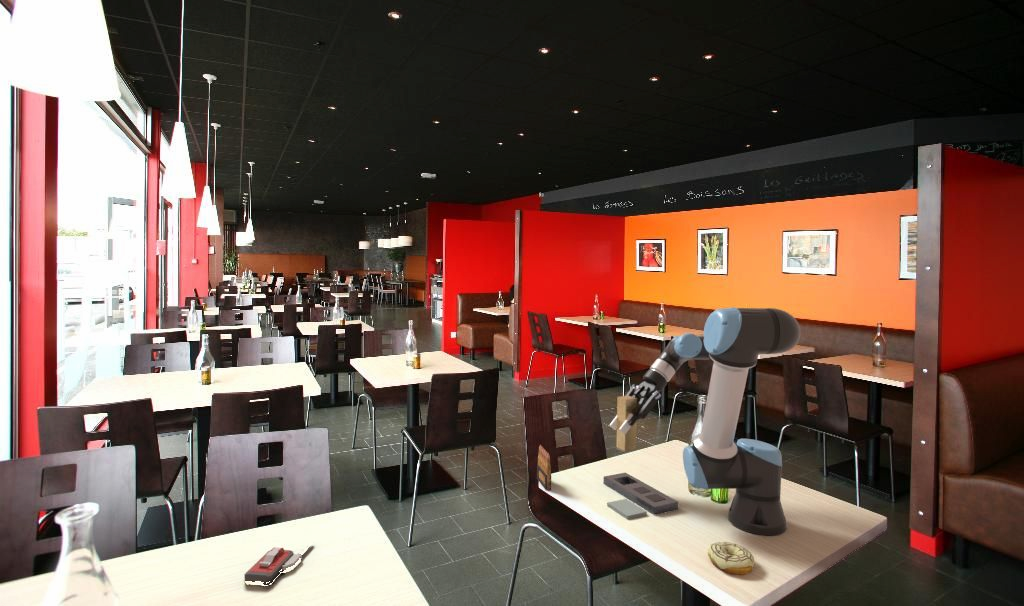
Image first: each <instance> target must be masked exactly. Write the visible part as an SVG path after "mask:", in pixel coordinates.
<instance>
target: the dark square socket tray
mask: <svg viewBox="0 0 1024 606" xmlns="http://www.w3.org/2000/svg"><path fill="white" fill-rule="evenodd" d="M603 485H604V486H606V487H608V488H610V489H611V490H613V491H614V492H616V493H618V494H620V496H623V497H624V498H625V499H627V500H629V501H630V502H632V503H634V504H635V503H636V504H635V505H637V506H638V507H640V508H642V509H643V508H644V509H643V510H645V511H646V512H647V513H650V514H652V515H653V516H656V515H661V513H662V514H666V513H670V511H671V512H675V511H678V510H679V500H676V499H674V498H673V497H671V496H669V495H667V494H665V493H663V492H661V491H660V490H658V489H656V488H654V487H652V486H651V485H648V483H645V482H643V481H641V480H640V479H637V477H635V476H633V475H630V474H629V473H627V472H622V473H617V474H615V473H614V474H610V475H603ZM674 510H675V511H674ZM665 512H666V513H665Z"/></svg>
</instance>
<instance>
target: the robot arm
mask: <svg viewBox="0 0 1024 606" xmlns="http://www.w3.org/2000/svg"><path fill="white" fill-rule="evenodd" d="M703 328H704V329H703V333H702V334H703V335H702V336H699V335H697V334H695V333H691V332H688V333H683V334H682V335H680V336H678V335H677V336H676V335H675V336H674V337H673V338H672V339H671V340H670V341H669V342H668V344H667V346H666V347H665V348H664V350H663V351H662V352H661V354H660V355H659V356H658V357H657V358H656V360H655V361H654V362H653V363H652V364H651V366H650V367H649V369H648V370H647V371H646V373H644V375H643V376H642V382H641V383H639V385H635V383H634V384H632V385H631V387H630V389H629V391H628V392H627V393H626V394H625V396H631V397H634V398H637V407H636V409H635V411H634V412H632V413H633V414H634V415H633V414H630V415H629V416H628V418H627V419H626V420H625V422H624V423H623V424H622V426H621V427H620V428H619V430H620V431H621V432H622V433H623V434H624V435H625V434H626V433H627V432H628V430H629V429H630V428H631V426H633V425H634V424H635V422H636V421H638V420H640V419H642V420H644V419H646V417H647V416H648V415H649V413H650V412H651V411H652V409H654V407H655V405H656V404H657V403H658V402H659V401H661V399H662V398H663V396H662V395H661V393H660V392H662V391H663V390H664V389H665V387H667V385H668V382H670V381H671V379H672V378H673V376H674V375H675V374H676V373H677V371H678V370H679V369H680V367H681V366H682V365H683V364H684V363H685V362H687V361H689V360H699V361H700V360H706V361H707V360H709V361H710V360H712V362H713V364H712V370H711V375H710V380H709V386H708V391H707V398H706V403H705V408H704V414H703V420H702V423H701V425H702V426H701V429H700V433H697V434H696V435H695V436H694V438H693V442H692V445H690V444H689V445H687V446H685V447H683V450H682V460H683V461H682V463H683V468H684V471H685V475H686V478H687V481H688V482H689V484H690V486H692V488H695V489H699V490H700V489H701V490H713V489H714V490H725V489H726V490H728V489H729V490H731V489H734V490H735V494H734V496H733V499H732V502H731V504H730V506H729V508H728V513H727V514H728V515H727V516H728V517H727V518H728V521H729V523H731V525H733V526H735V527H736V528H737V529H740V530H742V531H744V532H747V533H751V534H755V535H760V536H776V535H781V534H783V533H785V532H786V530H787V518H786V516H785V512H784V509H783V505H782V503H781V502H782V501H781V493H782V492H781V490H782V467H783V458H782V457H783V456H782V452H781V451H780V449H779V448H778V447H776V446H774V445H773V444H770V443H767V442H764V441H761V440H757V439H752V438H751V439H750V438H740V439H737V442H736V443H735V441H734V439H735V435H736V430H737V425H738V420H739V416H740V412H741V408H742V407H741V406H742V402H743V397H744V392H745V388H746V384H747V378H748V374H749V369H751V368H754V367H756V365H757V363H758V358H759V355H775V354H776V355H777V354H783V353H787V352H789V351H791V350H793V349H794V348H795V347H796V346H797V345H798V344H799V342H800V338H801V332H802V331H801V327H800V324H799V321H797V319H796V318H795V317H794V316H793V315H792V314H790V313H789V312H787V311H785V310H783V309H779V308H775V307H773V308H772V307H771V308H770V307H769V308H764V307H763V308H762V307H761V308H757V307H756V308H755V307H753V308H751V307H750V308H749V307H743V308H742V307H739V308H738V307H727V308H724V307H723V308H717V309H715V310H714V311H713V312H711V313H710V314H709V315H708V317H707V319H706V321H705V324H704V327H703ZM614 416H615V417H614V418H613V419H612V421H611V422H610V423H609V426H610V427H611V428H612V430H613V431H617V414H616V415H614Z"/></svg>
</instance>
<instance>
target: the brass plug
mask: <svg viewBox="0 0 1024 606" xmlns="http://www.w3.org/2000/svg"><path fill="white" fill-rule="evenodd" d="M616 398H617V400H616V401H617V403H616V404H617V405H616V406H617V408H616V409H617V411H616V415H617V429H616V448H617V449H619V450H621V451H622V452H631V451H637V425H638V423H637V421H638V420H637V421H636V422H635V424H634V425H633V426H631V428H630V429H629V430H628V432H627V433H626V434H625V435H624V434H623V433H622V432H621V431H620V430H619V428H620V427H621V426H622V424H623V423H624V422H625V420H626V419H627V418H628V416H629V415H630V414H633V413H632V412H634V411H635V409H636V407H637V405H638V403H637V398H634V397H631V396H626V395H623V396H617V397H616ZM633 415H634V414H633Z"/></svg>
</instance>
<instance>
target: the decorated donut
mask: <svg viewBox="0 0 1024 606" xmlns="http://www.w3.org/2000/svg"><path fill="white" fill-rule="evenodd" d="M707 556H708V558H709V560H710V562H711V564H712V565H713V566H715V567H717V569H720V570H722V571H724V572H725V573H727V572H728V573H729V574H733V575H740V576H741V575H742V576H744V575H747V574H749V573H750V572H752V571H753V568H754V566H755V558H754V555H753V553H752V552H751V551H750V550H749V549H747V548H745V547H744V546H742V545H740V544H738V543H734V542H728V541H719V542H712V543H711V544H709V546H708V549H707ZM728 573H727V574H728Z"/></svg>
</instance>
